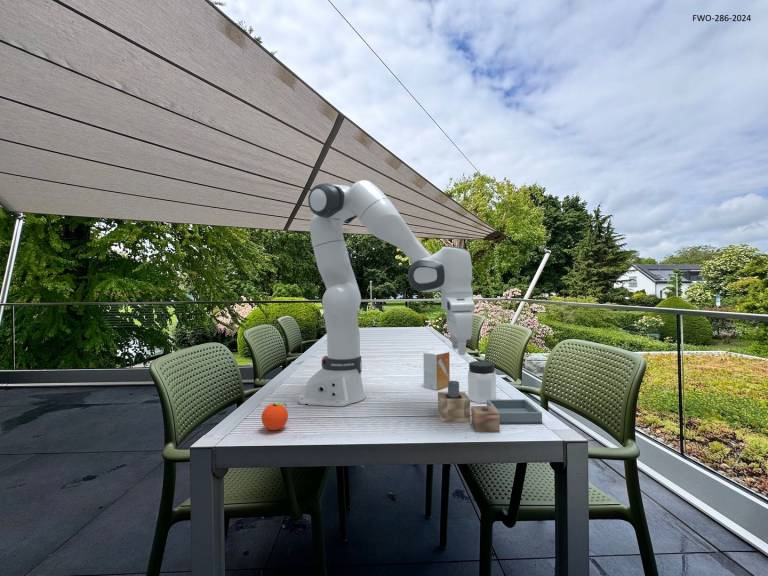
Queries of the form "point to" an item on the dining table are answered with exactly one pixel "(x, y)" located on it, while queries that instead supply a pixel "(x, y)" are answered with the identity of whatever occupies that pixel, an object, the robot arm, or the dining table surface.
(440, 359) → the small box
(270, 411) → the clementine
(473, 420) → the walnut block
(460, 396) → the beech block
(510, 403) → the tray
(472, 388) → the jar
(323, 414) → the dining table surface
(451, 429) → the dining table surface
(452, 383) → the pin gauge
